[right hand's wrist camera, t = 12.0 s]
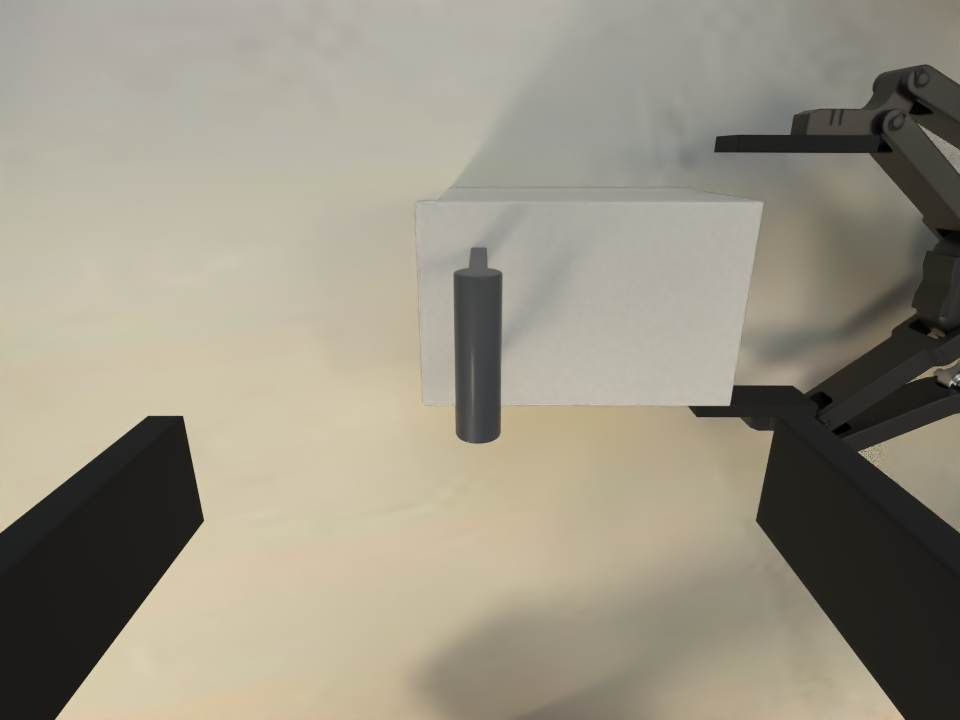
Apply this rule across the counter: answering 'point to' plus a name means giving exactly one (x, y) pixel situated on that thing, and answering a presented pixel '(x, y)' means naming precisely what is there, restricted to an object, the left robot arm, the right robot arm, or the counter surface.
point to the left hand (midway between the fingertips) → (705, 282)
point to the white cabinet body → (581, 194)
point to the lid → (580, 303)
